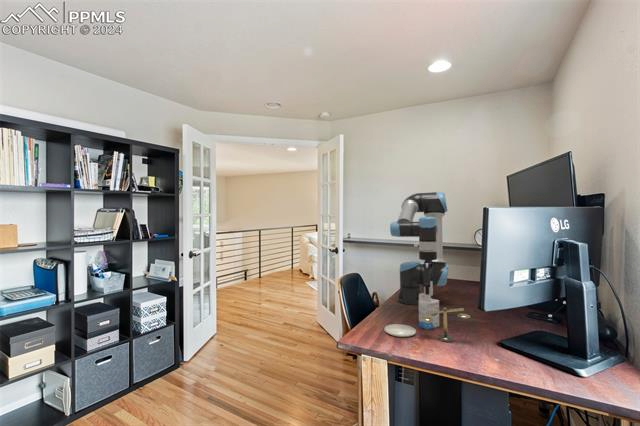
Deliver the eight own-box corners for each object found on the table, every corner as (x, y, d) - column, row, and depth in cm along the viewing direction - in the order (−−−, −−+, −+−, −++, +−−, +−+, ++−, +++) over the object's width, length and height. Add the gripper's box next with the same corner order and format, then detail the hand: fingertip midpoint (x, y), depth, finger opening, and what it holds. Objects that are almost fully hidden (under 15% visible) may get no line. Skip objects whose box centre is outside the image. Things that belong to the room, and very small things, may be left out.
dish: (387, 325, 137) (387, 322, 137) (417, 329, 132) (417, 326, 132) (381, 335, 125) (381, 332, 125) (414, 340, 120) (414, 337, 120)
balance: (422, 333, 127) (422, 302, 127) (470, 339, 120) (469, 307, 120) (421, 338, 121) (420, 306, 122) (471, 345, 114) (470, 311, 115)
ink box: (428, 330, 131) (427, 296, 131) (418, 326, 135) (417, 293, 135) (440, 326, 136) (439, 293, 136) (430, 323, 140) (429, 291, 140)
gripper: (421, 248, 149) (422, 291, 148) (416, 253, 126) (417, 304, 125) (437, 249, 146) (438, 293, 145) (435, 253, 123) (436, 306, 122)
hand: (428, 298), depth 135 cm, fingers open, 13 cm apart
